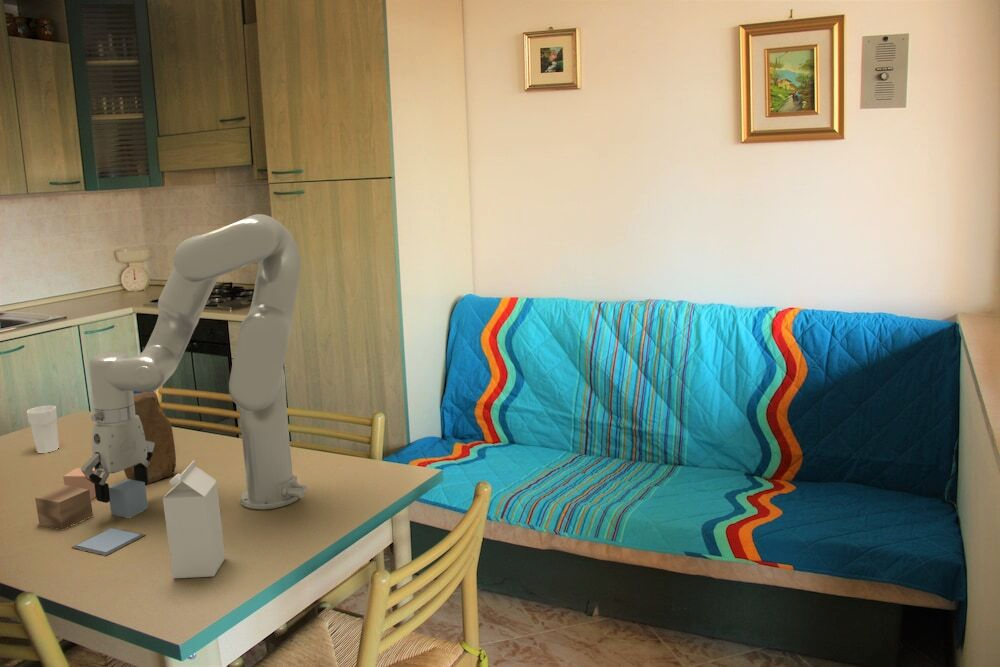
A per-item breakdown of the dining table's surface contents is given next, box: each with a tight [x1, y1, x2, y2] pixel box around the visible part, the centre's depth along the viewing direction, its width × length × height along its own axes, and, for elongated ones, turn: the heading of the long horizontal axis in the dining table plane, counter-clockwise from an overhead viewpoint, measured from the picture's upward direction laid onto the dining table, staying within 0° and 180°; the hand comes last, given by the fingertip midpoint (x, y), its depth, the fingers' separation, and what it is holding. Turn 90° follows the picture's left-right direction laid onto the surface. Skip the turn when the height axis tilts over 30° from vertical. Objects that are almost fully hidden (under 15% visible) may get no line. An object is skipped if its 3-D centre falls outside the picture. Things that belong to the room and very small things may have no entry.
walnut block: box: [34, 485, 94, 530], centre depth 171 cm, size 7×7×6 cm
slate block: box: [109, 478, 149, 519], centre depth 174 cm, size 5×5×6 cm
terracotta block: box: [62, 467, 96, 501], centre depth 182 cm, size 5×5×6 cm
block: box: [123, 392, 177, 484], centre depth 191 cm, size 11×8×20 cm
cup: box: [26, 405, 60, 454], centre depth 214 cm, size 7×7×11 cm
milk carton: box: [162, 459, 226, 579], centre depth 146 cm, size 7×7×19 cm
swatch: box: [71, 527, 146, 556], centre depth 160 cm, size 9×9×1 cm
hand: (123, 492), depth 173 cm, fingers open, 9 cm apart
